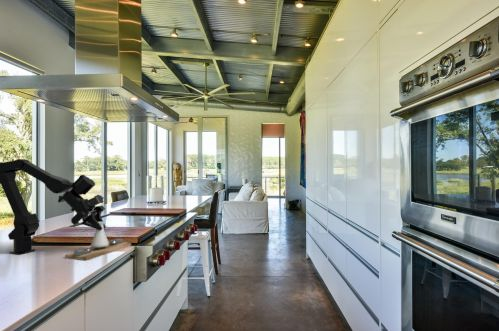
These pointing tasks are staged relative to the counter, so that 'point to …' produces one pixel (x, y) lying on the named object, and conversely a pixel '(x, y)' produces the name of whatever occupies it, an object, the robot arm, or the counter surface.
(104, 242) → the flask
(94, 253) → the tan board
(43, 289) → the counter surface
